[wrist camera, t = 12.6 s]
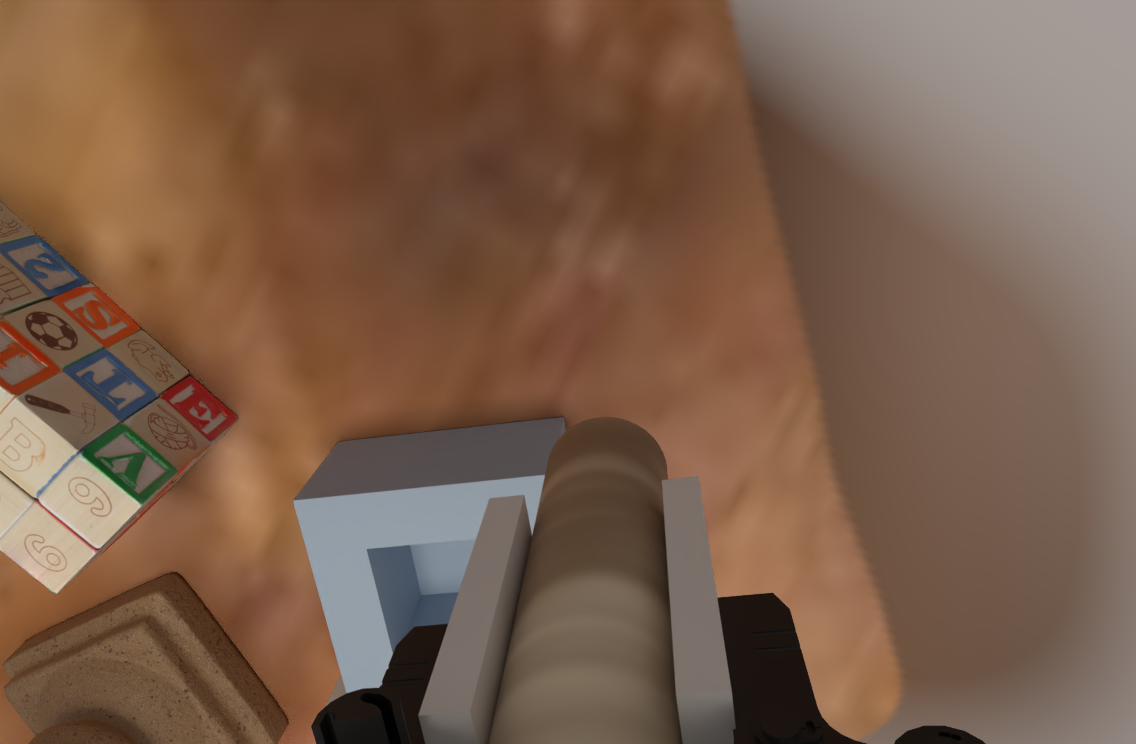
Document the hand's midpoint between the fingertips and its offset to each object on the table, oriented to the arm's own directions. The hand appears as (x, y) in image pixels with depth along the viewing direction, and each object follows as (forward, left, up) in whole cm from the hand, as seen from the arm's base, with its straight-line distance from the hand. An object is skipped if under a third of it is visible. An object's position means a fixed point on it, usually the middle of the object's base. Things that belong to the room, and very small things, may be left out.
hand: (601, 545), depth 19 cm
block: (+11, -9, -22) cm, 26 cm away
